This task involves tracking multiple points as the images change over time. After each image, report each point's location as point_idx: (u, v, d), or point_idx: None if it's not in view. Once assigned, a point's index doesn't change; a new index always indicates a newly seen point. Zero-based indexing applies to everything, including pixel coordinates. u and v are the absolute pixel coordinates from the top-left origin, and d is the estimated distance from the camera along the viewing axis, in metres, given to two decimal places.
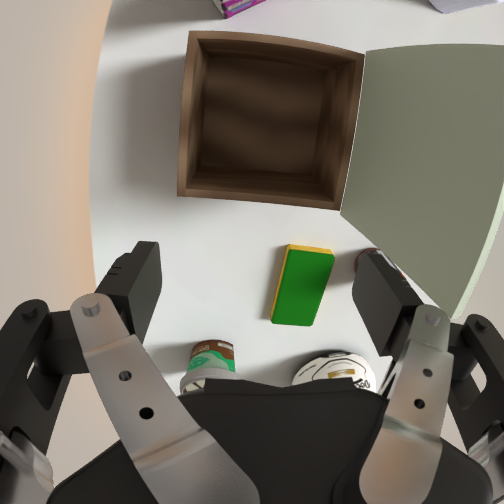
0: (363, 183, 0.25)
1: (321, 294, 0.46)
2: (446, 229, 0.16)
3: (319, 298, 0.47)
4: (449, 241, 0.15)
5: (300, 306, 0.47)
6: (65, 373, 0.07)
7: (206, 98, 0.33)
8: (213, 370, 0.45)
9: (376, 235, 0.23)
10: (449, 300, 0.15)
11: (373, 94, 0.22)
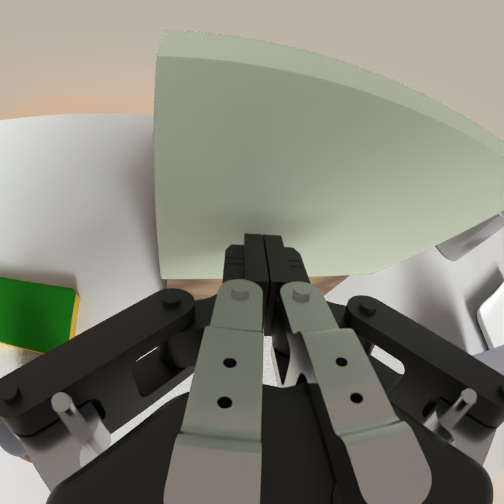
0: None
1: (10, 341, 0.22)
2: None
3: (4, 339, 0.21)
4: None
5: None
6: None
7: None
8: None
9: None
10: None
11: None
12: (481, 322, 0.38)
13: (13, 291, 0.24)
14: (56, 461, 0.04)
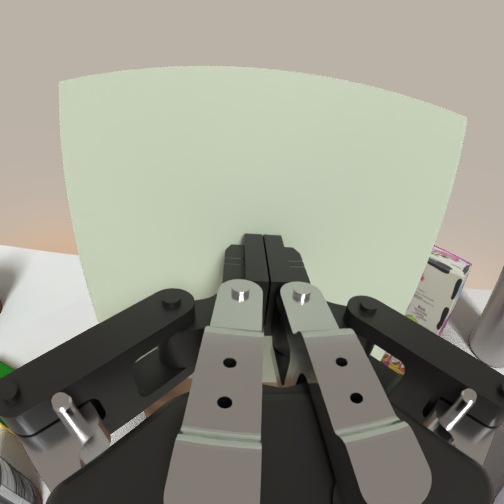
0: None
1: None
2: None
3: None
4: None
5: None
6: None
7: None
8: None
9: None
10: None
11: None
12: None
13: None
14: (56, 461, 0.04)
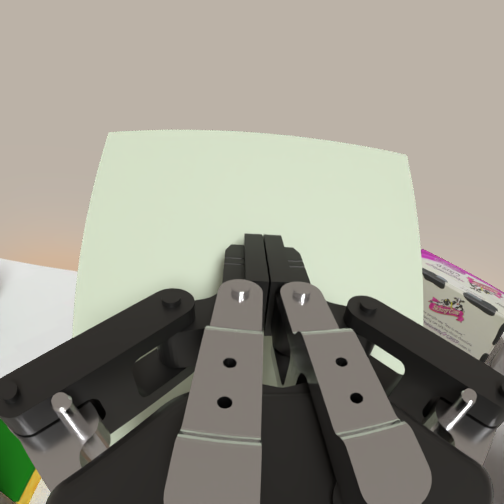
0: None
1: None
2: None
3: None
4: None
5: None
6: None
7: None
8: None
9: None
10: None
11: None
12: None
13: None
14: (56, 461, 0.04)
